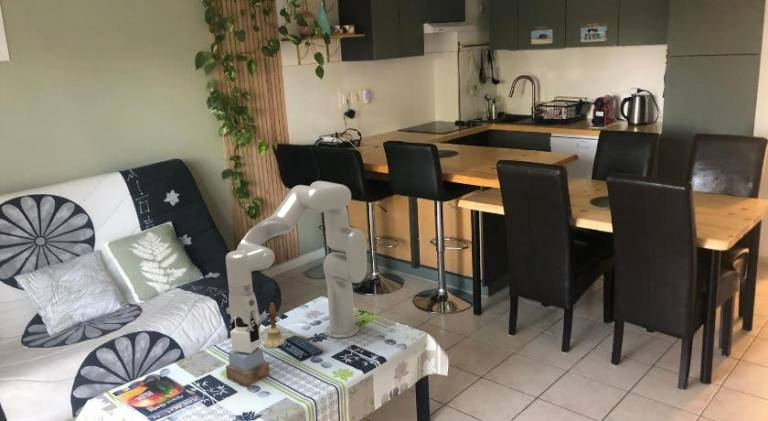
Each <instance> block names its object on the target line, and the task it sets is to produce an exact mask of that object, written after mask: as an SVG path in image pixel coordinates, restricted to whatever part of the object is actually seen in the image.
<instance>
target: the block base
mask: <svg viewBox="0 0 768 421" xmlns="http://www.w3.org/2000/svg"><path fill="white" fill-rule="evenodd" d="M225 372H226V379H227V380H229V381H231V382H234V383H236V384H237V385H240V386H242V387H244V388H246V389H247V388H248V387H250V386H252V385H255V384H256V383H257V382H259V381H262V380H263V379H265V378H267V377H269V376H270V375H271V374H270V364H269V362H268V361H265V360H264V363H262V364H260V365H258V366H256V367H254V368H252V369H250V370H248V371H247V372H243V371H241V370H239V369H237V368H235V367H232V366H230V363H229V364H227V365H225Z"/></svg>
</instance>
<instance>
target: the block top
mask: <svg viewBox="0 0 768 421" xmlns="http://www.w3.org/2000/svg"><path fill="white" fill-rule="evenodd" d="M228 361H229V362H228V363H229V364H230V366H232V367H235V368H237V369H239V370H241V371H243V372H247V371H248V370H250V369H252V368H254V367H256V366H258V365H260V364H262V363H264V361H265V359H264V351H263V348H261V347H260V346H258V347H257V348H256V349H255V350H254V351H253V352H252V353H245V352H238V351H233V350H229V351H228Z"/></svg>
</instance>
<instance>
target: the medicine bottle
mask: <svg viewBox="0 0 768 421" xmlns="http://www.w3.org/2000/svg"><path fill="white" fill-rule="evenodd" d="M234 318H235V328H234V329H233V330H232V329H231V330H230V331H229V332H230V341H231V347H232V348H231V349H232V350H233V351H238V352H245V353H252V352H253V351H254V350H255V349H256V348H257V347H260V346H261V345H262V335H261V326H260V327H259V329H258V330H259V339H258V340H256V341H254V342H251V340H250V331H251V330H250V328H249V326H248V324H245V323H243V320H242V319H241V318H239V317H234ZM250 321H252V319H251V320H250ZM251 324H252V326H254V323H251Z"/></svg>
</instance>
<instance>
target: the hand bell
mask: <svg viewBox="0 0 768 421" xmlns="http://www.w3.org/2000/svg"><path fill="white" fill-rule="evenodd" d="M269 304H270V305H269V308H268V315H269V317H270V328H269V329H267V336H266V339H265V340H264V342H263V346H264V347H265V348H269V349H276V348H275V347H277V346H279V345H280V344H282V343H283V342H284V341H285V340H286V339H285V338H284V337H283V336H282V333H281V330H280V328H279V327H277V325H276V324H277V323H276V316H277V308H276V306H275V302H270V303H269ZM277 348H278V347H277Z"/></svg>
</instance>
